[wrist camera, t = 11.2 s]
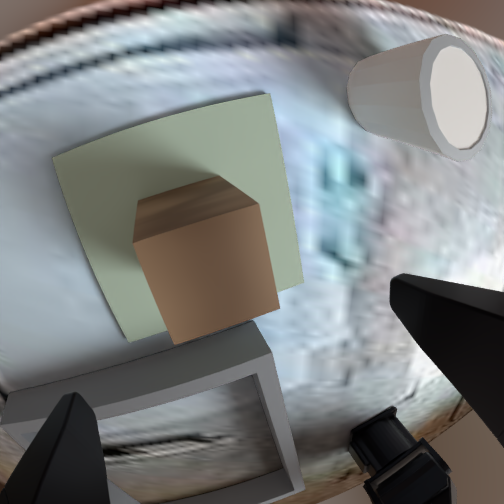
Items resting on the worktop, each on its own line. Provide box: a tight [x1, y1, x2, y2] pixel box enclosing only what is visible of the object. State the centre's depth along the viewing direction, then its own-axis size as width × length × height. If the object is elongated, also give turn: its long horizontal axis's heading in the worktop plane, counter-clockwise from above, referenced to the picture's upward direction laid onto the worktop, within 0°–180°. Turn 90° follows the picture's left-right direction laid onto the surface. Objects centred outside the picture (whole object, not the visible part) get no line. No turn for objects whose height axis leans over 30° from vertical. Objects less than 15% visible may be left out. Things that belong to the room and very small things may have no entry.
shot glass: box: [347, 34, 492, 162], centre depth 15 cm, size 7×7×7 cm
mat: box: [52, 93, 304, 343], centre depth 17 cm, size 12×12×1 cm
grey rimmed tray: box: [0, 321, 305, 504], centre depth 23 cm, size 20×24×4 cm
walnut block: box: [132, 175, 280, 345], centre depth 14 cm, size 4×4×6 cm
